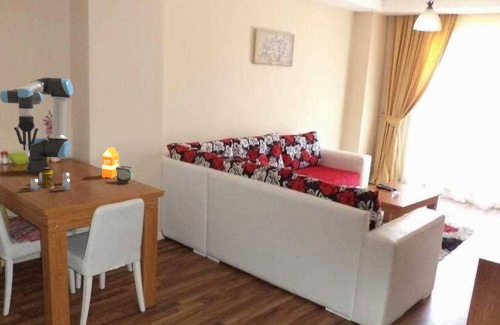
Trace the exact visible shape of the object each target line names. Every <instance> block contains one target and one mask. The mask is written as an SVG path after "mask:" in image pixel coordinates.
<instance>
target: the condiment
mask: <svg viewBox="0 0 500 325" xmlns="http://www.w3.org/2000/svg"><path fill="white" fill-rule="evenodd" d="M44 189H55V186H54V171H53V167H51V166H50V167H44V168H43V172H42V185H38V190H44Z"/></svg>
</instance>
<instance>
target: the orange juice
mask: <svg viewBox="0 0 500 325" xmlns="http://www.w3.org/2000/svg"><path fill="white" fill-rule="evenodd" d="M117 166H120V155H119V153H118V151H117V150H116V147H114V146H113V147H109V148H107V149H106V150H105V152H104V153H103V154H102V156H101V169H102V170H101V171H102V172H101V174H102V176H101V177H102V178H105V177H110V178H109V179H114V178H113V177H115V176H117V174H116V170H115V169H116V167H117ZM115 178H116V177H115Z"/></svg>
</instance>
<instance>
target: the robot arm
mask: <svg viewBox="0 0 500 325" xmlns="http://www.w3.org/2000/svg"><path fill="white" fill-rule="evenodd" d="M44 95H47V96H50V98H51V99H52V101H53V102H52V104H53V105H52V127H51V135H50V137H49V138H48V139H49V140H48V139H47V137H37V133H38V131H39V129H40V128H39V127H37V126H35V124H34V123H35V121H34V105H40V104H42V103H43V101H44ZM73 95H74V86H73V84H72V81H71V80H70V79H69V78H61V77H42V78H37V79H34V80H32V81H30V82H29V83H27V84H26V85H22V86H19V87H17V88H14V89H10V90H9V89H3V90H0V100H1V102H2V103H4V104H18V125H17V126H15V127H14V128H13V130H14V131H15V133H16V137H17V139H18V142H19V145H22V147H23V148H22V149H23V151H25V157H28V162H27V163H26V164H27V165H26V168H25V173H28V174H35V175H36V174H38V175H39V173H41V172H43V168H44V167H51V166H50V164H49V161H48V158H54V159H56V158H58V159H62V158H63V159H65V158H67V157H68V156H69V155H70V153H71V150H72V144H71V141H69V138H68V137H67V136H66V135H67V134H66V133H67V114H68V113H67V112H68V111H67V110H68V101H69V100H70V97H72V96H73ZM20 130H21V132H22V135H21V132H20ZM32 130H34V131H33V135H32Z"/></svg>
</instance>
